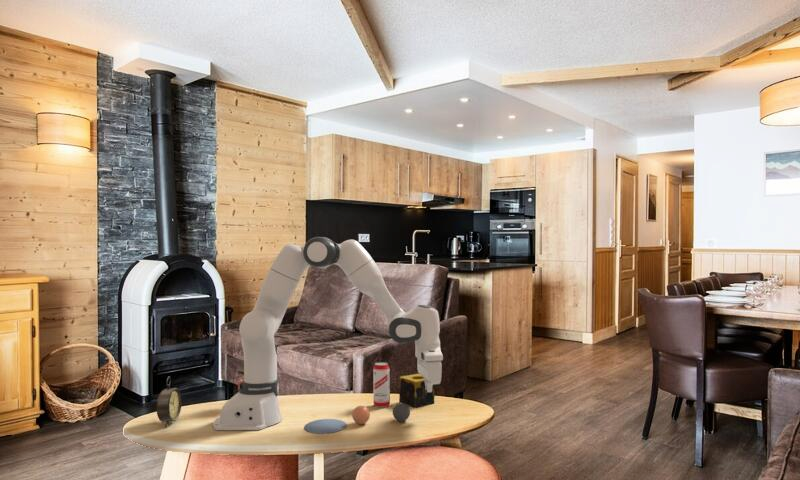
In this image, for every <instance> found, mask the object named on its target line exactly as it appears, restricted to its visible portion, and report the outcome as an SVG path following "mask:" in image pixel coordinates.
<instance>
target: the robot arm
mask: <svg viewBox="0 0 800 480" xmlns="http://www.w3.org/2000/svg"><path fill="white" fill-rule="evenodd" d="M364 247H365V246H363V245H362V244H361V243H360V242H359V241H358V240H355V239H347V240H344V241H342V242H341V243H337V242H335V241H333V240H332V239H330V238H328V237H325V236H314V237H312V238H310V239H308V240H307V241H306V242H305V244H304V246H300V245H298V244H294V243H289V244H286V245H284V246H283V247H282V249H281V250H280V252H279V253H278V254H277V256H276V257H275V259H274V261H273V262H272V264H271V266H270V268H269V271H268V272H267V274H266V276H265V279H264V280H263V283H262V285H261V286H260V290H259V293H258V297H257V299H256V302H255V304H254V307H253V309H252V310H251V311H249V312H247V313H246V314H245V315H244V316H243V317H242V319H241V321H240V324H239V326H238V327H239V329H238V330H239V334H240V338H241V339H240V340H241V345H242V354H243V361H244V362H243V367H244V374H243V378H244V379H239V380H238V382H237V393H235V394H234V395H233V396H232V397H230V399H228V400H227V401H225V403H224V404H223V406H222V407H221V410H220V414H219V415H220V416H218V417H216V418H215V420H214V421H213V424H212V428H213V430H215V429H216V430H215V431H259V430H262V429H265V428H266V427H270V426H273V425H277V424H278V423H280V422H281V421H282V415H281V412H280V406H279V397H278V395H279V386H280V385H279V379H278V355H277V351H276V346H275V345H276V344H275V334H276V333H277V332H278V330H279V328H280V326H281V324H282V321H283V318H284V316H285V314H286V312H287V309H288V307H289V304H290V302H291V299H292V297H293V295H294V293H295V290H296V289H297V287H298V284H299V283H300V280H301V278H302V276H303V274H304V272H305V270H307V269H308V268H309V267H312V268H316V269H326V268H329V267H331V266H333V265H335V266H338V267H339V268H340V269H341V270H342V272H343V273H344V275H346V277H347V279H348V280H349V281H350V283H351V284H352V286H354V287H355V288H356V289H357V290H358V291H359V292H360V293H362V294H365V295H367V296H368V297H370V298H371V299H372V300H373V301H374V302H375V303H376V305H377V307H378V308H379V309H380V310H381V312H382V313H383V314H384V316H385V317H386V319H387V322H388V335H389V337H390V338H391V339H392V340H393V341H394V342H396V343H398V344H407V343H412V342H414V346H415V347H414V348H415V350H414V351H415V353H414V354H415V358H416V360H417V365H416V366H417V368H416V369H417V373H418V374H421V375H422V376H423V377H424V382H425V390H426V391H427V392H432V386H433V384H434V385H440V384H441V381H442V372H443V371H442V365H443V364H442V361H443V360H444V355H443V353H442V351H441V350H442V349H441V340H440V333H441V330H440V329H441V326H440V322H441V321H440V314H439V311H438V310H437V308H435V307H434V306H431V305H426V304H418V305H415V307H414V308H412V309H409V310H408V311H406V310H404V309H403V308H402V307H401V306H400V305H399V303H398V302H397V301H396V299H395V298H394V296H393V295H392V294H391V293H390V291H389V290H388V287H387V286H386V283H385V280H384V279H385V278H384V277H383V275H382V272H381V269H380V268H379V266H378V265H377V263H376V262H375V260H374V259H373V257H372V256H371V254H370V253H369V252H368V251H367V250H366V249H365V248H364Z"/></svg>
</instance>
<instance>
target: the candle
mask: <svg viewBox="0 0 800 480" xmlns="http://www.w3.org/2000/svg"><path fill="white" fill-rule="evenodd" d="M399 385H400V386H399V388H400V389H399V392H398V394H399V398H398V402H399V403H404V404H406V405H407V406H408V407H410V408H411V407H412V408H413V409H415V408H416V409H417V408H421V407H425V406H430V405H434V404H435V384H433V386H432V392H427V391H426V390H425V382H424V377H423V376H422V375H421V374H420V373H414V374H409V375H408V374H407V375H401V376H399ZM429 404H430V405H429Z"/></svg>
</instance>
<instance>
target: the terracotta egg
mask: <svg viewBox="0 0 800 480" xmlns="http://www.w3.org/2000/svg"><path fill="white" fill-rule="evenodd" d="M370 416H371V413H370V409H369V408H368V407H367V406H365V405H357V406H355V408H354V409H353V411H352V415H351V417H352V421H354V422H355V423H356V424H357V425H364V424H366V423H367V422H368V421H369V420H370Z"/></svg>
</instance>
